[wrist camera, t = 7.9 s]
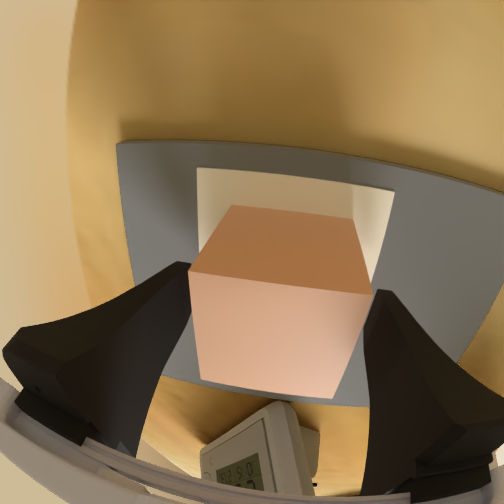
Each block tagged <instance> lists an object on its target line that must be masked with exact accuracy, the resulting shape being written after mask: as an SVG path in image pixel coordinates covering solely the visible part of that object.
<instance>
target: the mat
mask: <svg viewBox="0 0 504 504" xmlns="http://www.w3.org/2000/svg"><path fill="white" fill-rule="evenodd" d="M116 152H117V164H118V175H119V185H120V194H121V202H122V210H123V218H124V225H125V231H126V238H127V244H128V250H129V255H130V261H131V266H132V271H133V277H134V282H135V286H137V285H139V284H141V283H142V282H144V281H145V280H147V279H148V278H150V277H152V276H153V275H155V274H156V273H158V272H160V271H161V270H163V269H164V268H166V267H167V266H169V265H171V264H172V263H174V262H176V261H181V262H187V263H191V265H192V264H193V262H194V261H195V259H196V258H197V256H198V255H199V253H200V251H201V250H202V248H203V247H204V245H205V244H206V242H207V241H208V239H209V238H210V236H211V235H212V233H213V232H214V230H215V229H216V227H217V226H218V224H219V222H220V221H221V219H222V218H223V217H224V215H225V214H226V212H227V211H228V209H229V208H230V206H231V205H240V206H249V207H259V208H268V209H277V210H286V211H294V212H302V213H311V214H318V215H326V216H333V217H341V218H348V219H353V221H354V224H355V228H356V231H357V235H358V238H359V242H360V245H361V249H362V252H363V256H364V260H365V264H366V267H367V271H368V275H369V279H370V283H371V288H372V292H373V298H372V301H371V304H370V307H369V310H368V312H367V315H366V318H365V321H364V324H365V322H366V319H367V316H368V314H369V311H370V308H371V305H372V303H373V300H374V297H375V294H376V291H377V289H384V290H392V291H393V292H394V294H395V295H396V296H397V297H398V298H399V299H400V301H401V302H402V303H403V304H404V306H405V307H406V308H407V309H408V311H409V312H410V313H411V314H412V316H413V317H414V318H415V319H416V321H417V322H418V323H419V324H420V326H421V327H422V328H423V329H424V330H425V332H426V333H427V334H428V335H429V336H430V337H431V338H432V339H433V341H434V342H435V343H436V344H437V345H438V346H439V347H440V348H441V349H442V350H443V351H444V352H445V353H446V354H447V355H448V356H449V357H450V358H451V359H452V360H453V361H454V362H455V363H457V362H458V361H459V359H460V358H461V356H462V355H463V353H464V352H465V350H466V349H467V347H468V345H469V344H470V342H471V341H472V339H473V338H474V336H475V334H476V333H477V331H478V329H479V328H480V326H481V324H482V322H483V321H484V319H485V317H486V315H487V314H488V312H489V310H490V308H491V306H492V304H493V302H494V301H495V299H496V297H497V295H498V293H499V291H500V289H501V287H502V285H503V282H504V193H503V192H500V191H497V190H494V189H491V188H488V187H485V186H481V185H478V184H475V183H471V182H468V181H465V180H461V179H458V178H454V177H450V176H447V175H443V174H439V173H435V172H431V171H427V170H423V169H418V168H414V167H410V166H405V165H401V164H396V163H391V162H386V161H381V160H376V159H370V158H365V157H359V156H353V155H347V154H341V153H334V152H328V151H321V150H313V149H305V148H297V147H288V146H278V145H268V144H256V143H243V142H226V141H204V140H128V141H123V142H120V143H117V144H116ZM364 324H363V326H362V329H361V332H360V334H359V337H358V339H357V342H356V345H355V347H354V350H353V352H352V355H351V357H350V360H349V362H348V364H347V367H346V369H345V371H344V374H343V376H342V378H341V381H340V383H339V385H338V387H337V390H336V392H335V394H334V396H333V398H332V399H329V398H317V397H307V396H298V395H289V394H281V393H274V392H267V391H261V390H254V389H248V388H242V387H237V386H231V385H226V384H221V383H216V382H211V381H207V380H202V379H201V377H200V370H199V363H198V356H197V348H196V340H195V332H194V324H193V316H192V312H191V315H190V318H189V320H188V323H187V325H186V327H185V329H184V331H183V333H182V335H181V337H180V339H179V341H178V342H177V344H176V346H175V348H174V350H173V352H172V354H171V356H170V357H169V359H168V361H167V363H166V365H165V367H164V369H163V371H162V374H161V375H163V376H167V377H170V378H174V379H178V380H182V381H186V382H190V383H194V384H198V385H203V386H207V387H212V388H217V389H221V390H226V391H231V392H237V393H242V394H248V395H253V396H260V397H266V398H273V399H280V400H287V401H295V402H304V403H314V404H324V405H337V406H354V407H370V401H369V390H368V382H367V374H366V366H365V359H364V351H363V327H364Z"/></svg>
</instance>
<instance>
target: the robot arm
mask: <svg viewBox="0 0 504 504" xmlns="http://www.w3.org/2000/svg"><path fill="white" fill-rule="evenodd" d="M190 267H191V263H187V262H181V261H176V262H174V263H172V264H171V265H169V266H167V267H166V268H164V269H163V270H161V271H160V272H158V273H156V274H155V275H153V276H152V277H150V278H148V279H147V280H145V281H144V282H142V283H141V284H139V285H137V286H135V287H134V288H132V289H130V290H128V291H127V292H125V293H123V294H121V295H120V296H118V297H116V298H114V299H112V300H110V301H108V302H106V303H104V304H101V305H99V306H97V307H95V308H92V309H90V310H87V311H84V312H81V313H79V314H76V315H74V316H70V317H67V318H64V319H60V320H57V321H53V322H49V323H44V324H39V325H33V326H27V327H22V328H20V329H19V330H18V332H17V333H16V334H15V335H14V336H13V337H12V338H11V340H10V341H9V342H8V343H7V344H6V346H5V347H4V348H3V349H2V352H3V357H4V360H5V362H6V363H7V365H8V367H9V368H10V369H11V371H12V372H13V374H14V375H15V376H16V378H17V379H18V381H19V382H20V383H21V385H22V386H23V387H24V388H23V390H22V391H21V392H19V391H17V390H16V389H15V388H14V387H13V386H11V385H10V384H9V383H7V382H5V381H4V380H3V379H2V378H0V452H1V453H2V454H3V455H5V456H6V457H7V458H8V459H9V460H10V461H12V462H13V463H14V464H15V465H16V466H17V467H19V468H20V469H21V470H22V471H24V472H25V473H26V474H28V475H29V476H30V477H31V478H33V479H34V480H35V481H37V482H38V483H40V484H41V485H42V486H44V487H45V488H47V489H48V490H49V491H51V492H52V493H54V494H55V495H57V496H58V497H60V498H62V499H63V500H65V501H66V502H68V503H69V504H185V503H181V502H178V501H175V500H171V499H167V498H164V497H161V496H158V495H155V494H151V493H149V492H148V491H147V490H146V488H145V486H143V485H141V484H139V483H142V484H144V485H147V486H150V487H153V488H155V489H158V490H161V491H164V492H167V493H170V494H173V495H177V496H180V497H184V498H187V499H190V500H194V501H198V502H202V503H206V504H504V465H502V466H499V467H498V464H497V459H496V454H495V450H496V449H497V448H499V447H500V446H501V445H502V444H503V443H504V397H502V396H500V395H498V394H497V393H495V392H493V391H492V390H490V389H489V388H487V387H486V386H484V385H483V384H481V383H480V382H479V381H477V380H476V379H475V378H473V377H472V376H471V375H469V374H468V373H467V372H466V371H465V370H463V369H462V368H461V367H460V366H459V365H458V364H456V363H455V362H454V361H453V360H452V359H451V358H450V357H449V356H448V355H447V354H446V353H445V352H444V351H443V350H442V349H441V348H440V347H439V346H438V345H437V344H436V343H435V342H434V341H433V339H432V338H431V337H430V336H429V335H428V334H427V333H426V332H425V330H424V329H423V328H422V327H421V326H420V324H419V323H418V322H417V321H416V319H415V318H414V317H413V316H412V314H411V313H410V312H409V311H408V309H407V308H406V307H405V306H404V304H403V303H402V302H401V301H400V299H399V298H398V297H397V296H396V295H395V294H394V292H393V291H392V290H384V289H377V291H376V294H375V297H374V300H373V303H372V305H371V308H370V311H369V314H368V316H367V319H366V322H365V324H364V327H363V351H364V359H365V366H366V374H367V382H368V390H369V401H370V421H369V438H368V450H367V458H366V465H365V472H364V478H363V483H362V488H361V493H360V496H355V497H328V496H306V495H293V494H282V493H274V492H266V491H259V490H252V489H246V488H240V487H235V486H230V485H225V484H220V483H216V482H212V481H207V480H203V479H199V478H196V477H192V476H188V475H184V474H180V473H178V472H174V471H171V470H168V469H165V468H162V467H158V466H156V465H153V464H150V463H147V462H144V461H142V460H139V459H136V454H137V450H138V445H139V441H140V437H141V433H142V430H143V426H144V423H145V419H146V416H147V413H148V409H149V406H150V403H151V401H152V398H153V395H154V392H155V389H156V386H157V384H158V381H159V378H160V376H161V374H162V371H163V369H164V367H165V365H166V363H167V361H168V359H169V357H170V356H171V354H172V352H173V350H174V348H175V346H176V344H177V342H178V341H179V339H180V337H181V335H182V333H183V331H184V329H185V327H186V325H187V323H188V320H189V318H190V315H191V312H192V307H191V297H190V287H189V277H188V270H189V269H190ZM133 480H134V481H133ZM135 481H136V482H135ZM137 482H139V483H137Z"/></svg>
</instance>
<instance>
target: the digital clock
mask: <svg viewBox="0 0 504 504" xmlns="http://www.w3.org/2000/svg"><path fill="white" fill-rule="evenodd" d="M319 444H320V433H319V432H318V431H315V430H312V429H309V428H306V427H303V426H300V425H299V422H298V418H297V415H296V412H295V410H294V409H293V407H292V406H291V405H290V404H289V403H288V402H285V401H280V400H277V401H274V402H272V403H270V404H269V405H267V406H265V407H264V408H262V409H260V410H259V411H257V412H256V413H254V414H253V415H251V416H250V417H248V418H247V419H246V420H244V421H243V422H241V423H240V424H238V425H237V426H235V427H234V428H233V429H231V430H230V431H228V432H227V433H225V434H224V435H222V436H221V437H219V438H217V439H216V440H214V441H213V442H211V443H210V444H208V445H207V446H205V447H204V448H202V449H201V451H200V467H201V478H202V479H203V480H207V481H212V482H216V483H220V484H225V485H230V486H235V487H240V488H246V489H252V490H259V491H266V492H274V493H282V494H293V495H306V496H315V493H314V488H313V484H312V479H311V478H313V477H314V476H315V474H316V472H317V467H318V457H319ZM204 504H206V503H204Z"/></svg>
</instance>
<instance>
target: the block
mask: <svg viewBox="0 0 504 504" xmlns="http://www.w3.org/2000/svg"><path fill="white" fill-rule="evenodd" d="M188 277H189V287H190V297H191V307H192V316H193V324H194V332H195V340H196V348H197V356H198V363H199V370H200V377H201V379H202V380H207V381H211V382H216V383H221V384H226V385H231V386H237V387H242V388H248V389H254V390H261V391H267V392H274V393H281V394H289V395H298V396H307V397H317V398H329V399H332V398H333V396H334V394H335V392H336V390H337V387H338V385H339V383H340V381H341V378H342V376H343V374H344V371H345V369H346V367H347V364H348V362H349V360H350V357H351V355H352V352H353V350H354V347H355V345H356V342H357V339H358V337H359V334H360V332H361V329H362V326H363V324H364V321H365V318H366V315H367V312H368V310H369V307H370V304H371V301H372V298H373V292H372V288H371V283H370V279H369V275H368V271H367V267H366V264H365V260H364V256H363V252H362V249H361V245H360V242H359V238H358V235H357V231H356V228H355V224H354V221H353V219H348V218H341V217H333V216H326V215H318V214H311V213H302V212H294V211H286V210H277V209H268V208H259V207H249V206H240V205H231V206H230V208H229V209H228V211H227V212H226V214H225V215H224V217H223V218H222V219H221V221H220V222H219V224H218V226H217V227H216V229H215V230H214V232H213V233H212V235H211V236H210V238H209V239H208V241H207V242H206V244H205V245H204V247H203V248H202V250H201V251H200V253H199V255H198V256H197V258H196V259H195V261H194V262H193V264H192V265H191V267H190V269H189V270H188Z"/></svg>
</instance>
